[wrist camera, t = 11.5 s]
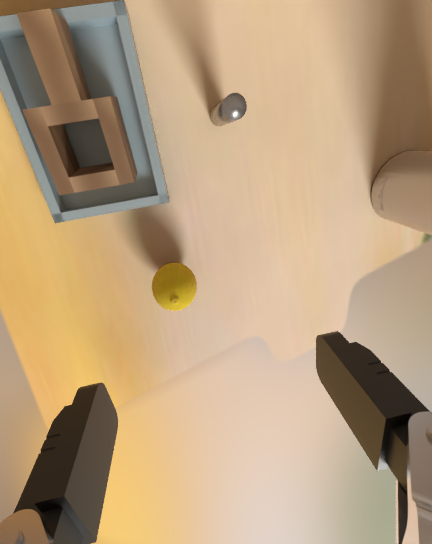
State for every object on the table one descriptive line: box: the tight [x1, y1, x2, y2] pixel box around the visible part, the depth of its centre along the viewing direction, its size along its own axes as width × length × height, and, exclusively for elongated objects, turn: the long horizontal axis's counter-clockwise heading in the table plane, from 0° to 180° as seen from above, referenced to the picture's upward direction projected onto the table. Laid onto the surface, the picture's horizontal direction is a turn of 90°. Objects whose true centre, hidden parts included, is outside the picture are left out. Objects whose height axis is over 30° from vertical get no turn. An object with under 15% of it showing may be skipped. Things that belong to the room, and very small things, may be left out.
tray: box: [0, 0, 169, 223], centre depth 29 cm, size 13×18×2 cm
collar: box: [16, 8, 138, 195], centre depth 27 cm, size 8×14×4 cm, turn 7°
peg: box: [210, 93, 246, 126], centre depth 28 cm, size 2×2×9 cm
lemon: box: [152, 263, 196, 311], centre depth 35 cm, size 6×6×8 cm
